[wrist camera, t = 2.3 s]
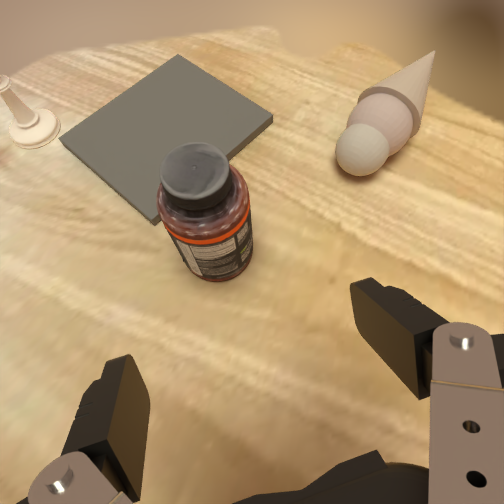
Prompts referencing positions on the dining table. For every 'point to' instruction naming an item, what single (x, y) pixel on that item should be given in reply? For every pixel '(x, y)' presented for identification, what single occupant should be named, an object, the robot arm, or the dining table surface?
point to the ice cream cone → (384, 119)
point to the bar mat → (162, 128)
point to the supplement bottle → (206, 210)
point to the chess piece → (28, 120)
